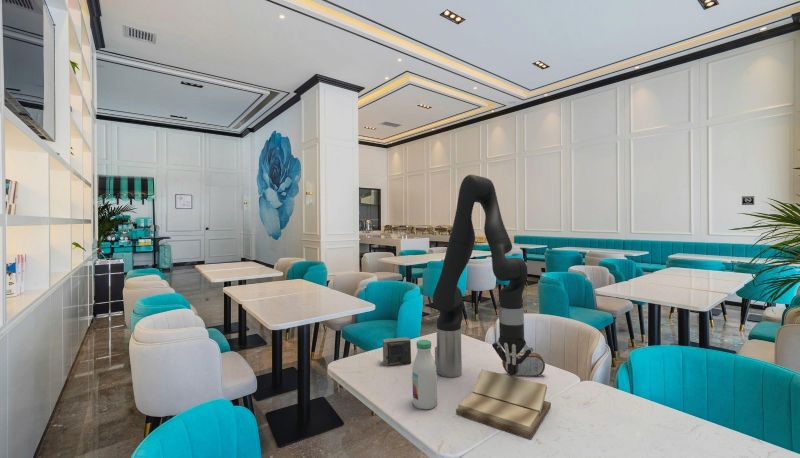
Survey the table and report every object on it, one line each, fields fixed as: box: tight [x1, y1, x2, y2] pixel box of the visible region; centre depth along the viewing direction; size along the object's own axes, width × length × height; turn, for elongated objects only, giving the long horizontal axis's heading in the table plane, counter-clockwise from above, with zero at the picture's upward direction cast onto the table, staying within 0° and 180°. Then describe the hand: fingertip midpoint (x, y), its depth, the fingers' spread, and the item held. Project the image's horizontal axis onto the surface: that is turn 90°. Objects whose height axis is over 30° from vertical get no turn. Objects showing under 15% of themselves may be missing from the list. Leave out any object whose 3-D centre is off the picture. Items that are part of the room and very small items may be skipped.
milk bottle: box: [411, 339, 438, 410], centre depth 115 cm, size 8×8×20 cm
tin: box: [501, 351, 546, 378], centre depth 134 cm, size 15×3×8 cm, turn 84°
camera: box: [382, 337, 412, 366], centre depth 148 cm, size 11×6×10 cm, turn 98°
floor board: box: [455, 392, 552, 440], centre depth 110 cm, size 22×20×3 cm
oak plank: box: [471, 368, 548, 414], centre depth 114 cm, size 21×9×2 cm
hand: (512, 374), depth 116 cm, fingers closed
